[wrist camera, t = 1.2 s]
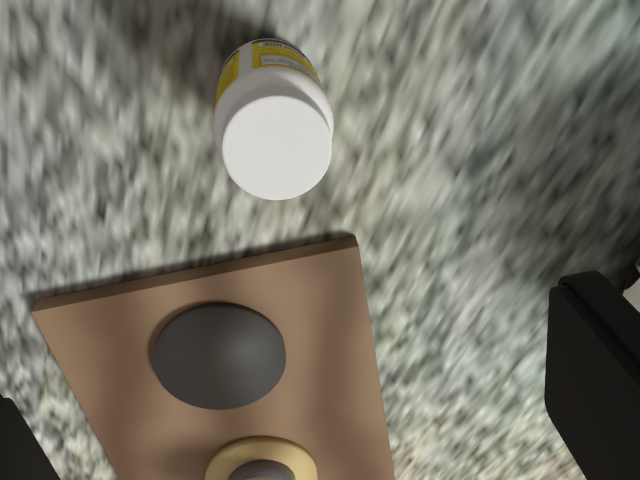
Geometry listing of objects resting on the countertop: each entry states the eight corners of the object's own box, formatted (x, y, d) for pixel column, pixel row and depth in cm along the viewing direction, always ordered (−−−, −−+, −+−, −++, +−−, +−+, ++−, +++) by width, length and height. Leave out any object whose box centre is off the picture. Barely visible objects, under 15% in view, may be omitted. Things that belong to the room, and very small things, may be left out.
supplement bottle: (245, 150, 29) (244, 229, 22) (200, 62, 27) (182, 119, 20) (332, 111, 29) (361, 179, 21) (294, 19, 26) (312, 60, 19)
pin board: (354, 235, 32) (360, 252, 31) (394, 484, 43) (399, 506, 42) (37, 299, 32) (27, 318, 31) (159, 533, 43) (155, 556, 42)
